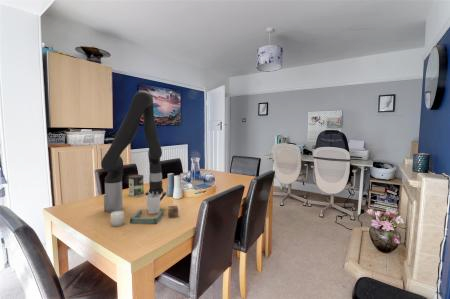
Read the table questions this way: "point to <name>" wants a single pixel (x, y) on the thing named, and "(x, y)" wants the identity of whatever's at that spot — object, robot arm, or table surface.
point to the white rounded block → (117, 218)
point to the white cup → (153, 204)
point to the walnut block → (172, 211)
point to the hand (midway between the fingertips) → (156, 207)
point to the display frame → (136, 218)
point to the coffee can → (136, 185)
